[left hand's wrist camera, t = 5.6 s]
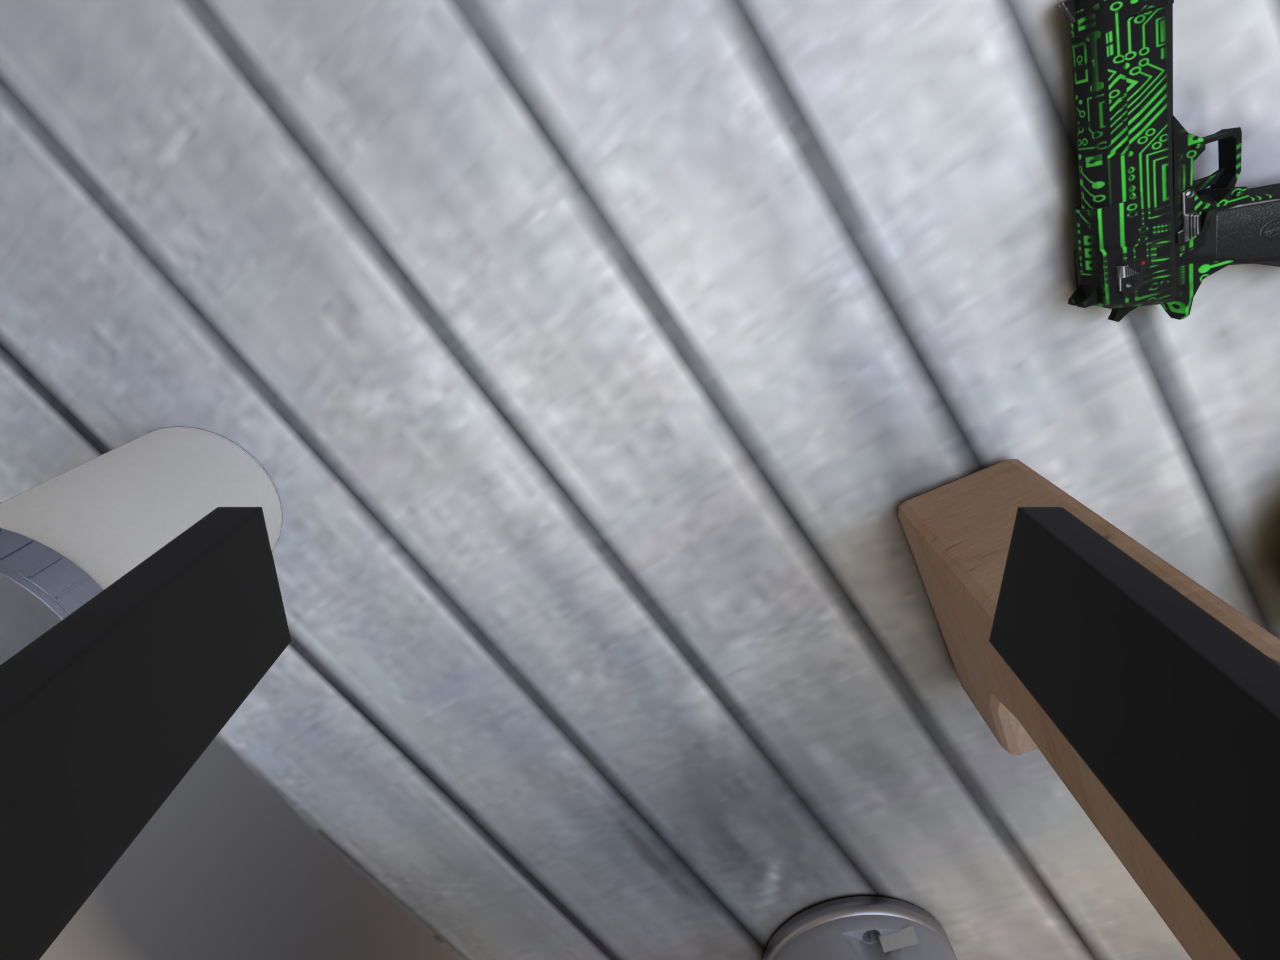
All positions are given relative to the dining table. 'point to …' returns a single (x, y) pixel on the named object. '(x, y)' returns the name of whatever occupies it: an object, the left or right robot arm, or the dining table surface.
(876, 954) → the right robot arm
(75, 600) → the lid
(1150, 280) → the handgun
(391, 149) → the dining table surface
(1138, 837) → the decorative block
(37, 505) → the jar
